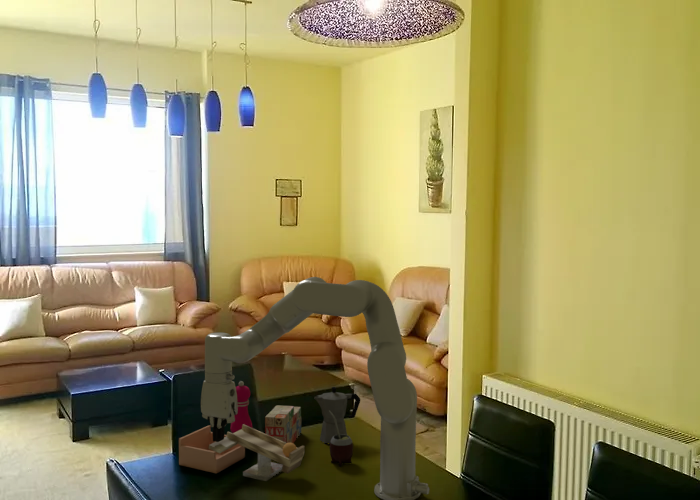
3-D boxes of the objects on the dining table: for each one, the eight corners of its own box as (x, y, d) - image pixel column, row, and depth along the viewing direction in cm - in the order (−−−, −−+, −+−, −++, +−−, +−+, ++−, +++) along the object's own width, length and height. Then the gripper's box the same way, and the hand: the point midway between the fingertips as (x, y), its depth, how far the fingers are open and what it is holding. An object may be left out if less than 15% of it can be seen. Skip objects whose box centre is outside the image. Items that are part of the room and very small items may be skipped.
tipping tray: (301, 464, 194) (305, 445, 193) (271, 485, 180) (275, 464, 179) (241, 437, 204) (244, 419, 203) (207, 454, 189) (210, 435, 188)
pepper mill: (226, 441, 221) (225, 382, 219) (239, 435, 227) (239, 377, 226) (243, 445, 217) (243, 385, 216) (256, 438, 224) (256, 380, 223)
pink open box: (244, 457, 207) (244, 432, 207) (216, 473, 195) (216, 446, 194) (208, 449, 213) (208, 425, 213) (179, 464, 201) (178, 438, 200)
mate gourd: (351, 467, 199) (351, 418, 198) (325, 466, 200) (325, 417, 199) (353, 458, 207) (354, 410, 206) (328, 457, 207) (328, 410, 207)
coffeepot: (314, 445, 218) (314, 391, 217) (313, 435, 227) (313, 383, 226) (361, 444, 219) (361, 390, 218) (358, 434, 228) (359, 382, 227)
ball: (296, 457, 192) (300, 444, 192) (289, 461, 189) (293, 449, 188) (285, 450, 194) (289, 438, 193) (278, 454, 190) (282, 442, 190)
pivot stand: (285, 469, 198) (285, 447, 198) (266, 481, 189) (266, 458, 189) (262, 464, 202) (262, 443, 201) (243, 475, 193) (242, 453, 192)
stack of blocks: (284, 432, 231) (284, 397, 230) (301, 433, 230) (301, 398, 229) (264, 454, 210) (264, 416, 209) (284, 456, 209) (284, 417, 208)
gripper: (248, 377, 189) (247, 440, 190) (206, 370, 196) (206, 432, 197) (231, 383, 182) (231, 449, 184) (188, 376, 189) (189, 439, 190)
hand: (218, 440), depth 190 cm, fingers closed
